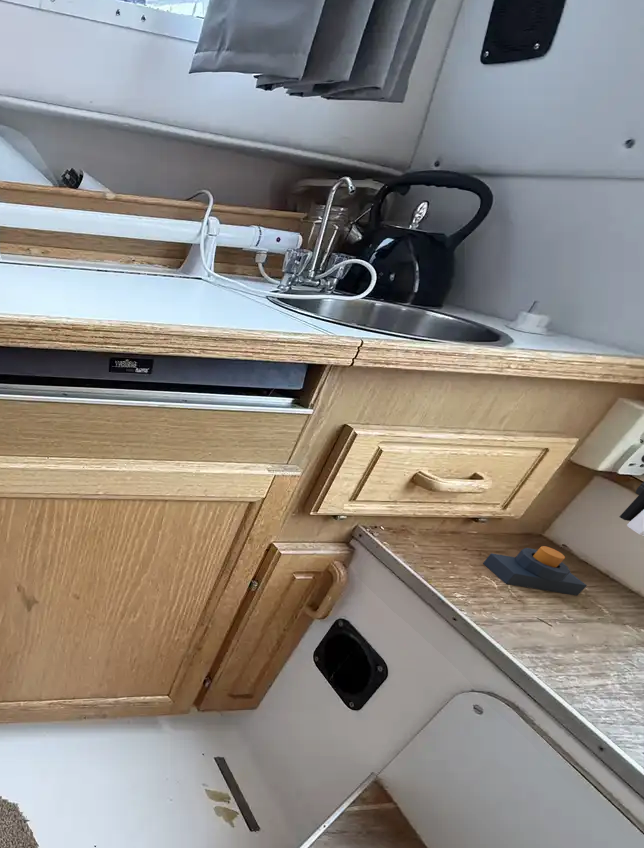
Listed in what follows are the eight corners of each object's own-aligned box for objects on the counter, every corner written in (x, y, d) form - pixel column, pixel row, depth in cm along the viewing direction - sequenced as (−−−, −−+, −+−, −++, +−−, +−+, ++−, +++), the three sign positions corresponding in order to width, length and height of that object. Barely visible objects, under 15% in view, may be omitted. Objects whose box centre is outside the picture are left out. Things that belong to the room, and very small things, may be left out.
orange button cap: (544, 557, 87) (553, 547, 86) (561, 570, 85) (570, 559, 84) (527, 554, 87) (536, 544, 86) (542, 567, 85) (552, 556, 84)
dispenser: (548, 572, 91) (565, 554, 89) (580, 598, 86) (598, 578, 84) (480, 561, 90) (495, 542, 88) (508, 586, 85) (525, 566, 83)
